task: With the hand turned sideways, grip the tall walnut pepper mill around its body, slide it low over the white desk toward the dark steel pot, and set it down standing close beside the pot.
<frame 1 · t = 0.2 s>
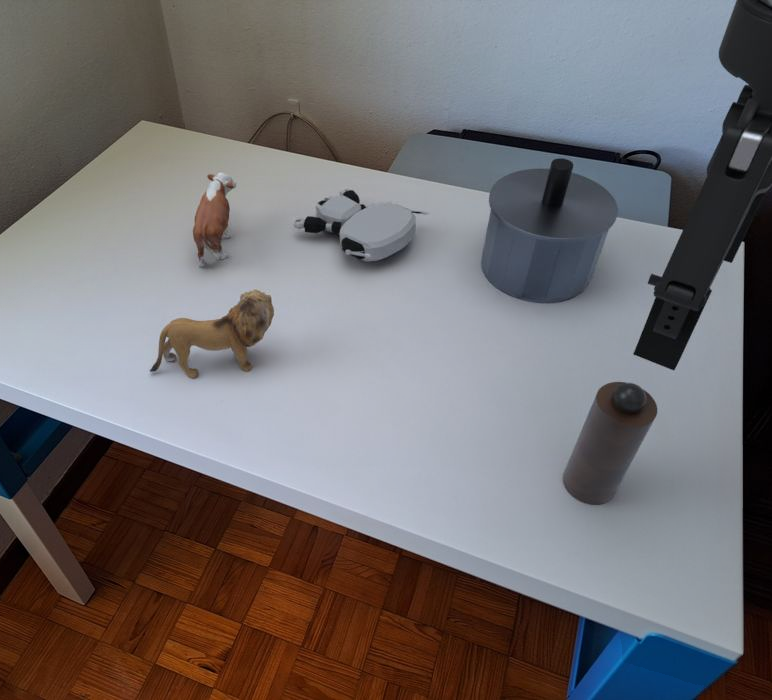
hand: (686, 303, 50), 22 cm above the table, tool pointing down, fingers open, 13 cm apart
pepper mill: (588, 483, 65), on the table
robot toy: (358, 239, 94), on the table
bull figurine: (218, 244, 94), on the table
pot: (535, 267, 88), on the table
pot lid: (551, 204, 81), point 9 cm above the table, touching pot
lion figurine: (219, 360, 79), on the table
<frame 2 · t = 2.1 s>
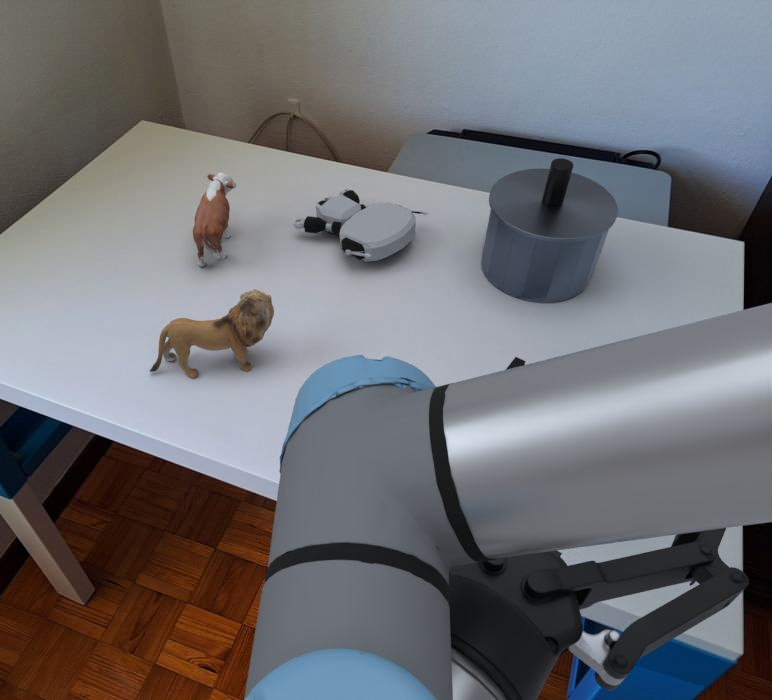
hand: (610, 415, 46), 20 cm above the table, tool horizontal, fingers open, 13 cm apart
nothing on the table moved.
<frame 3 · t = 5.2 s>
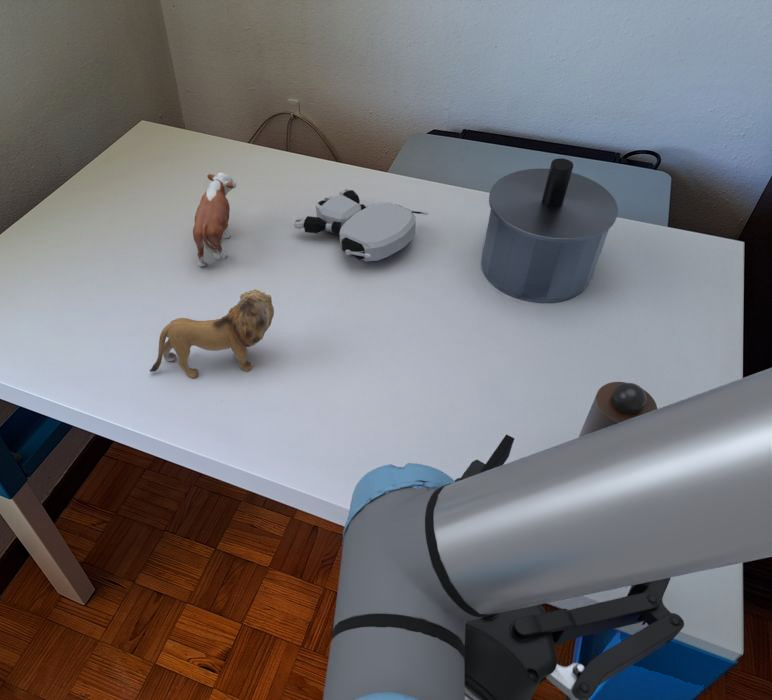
hand: (582, 484, 57), 7 cm above the table, tool horizontal, fingers open, 13 cm apart
nothing on the table moved.
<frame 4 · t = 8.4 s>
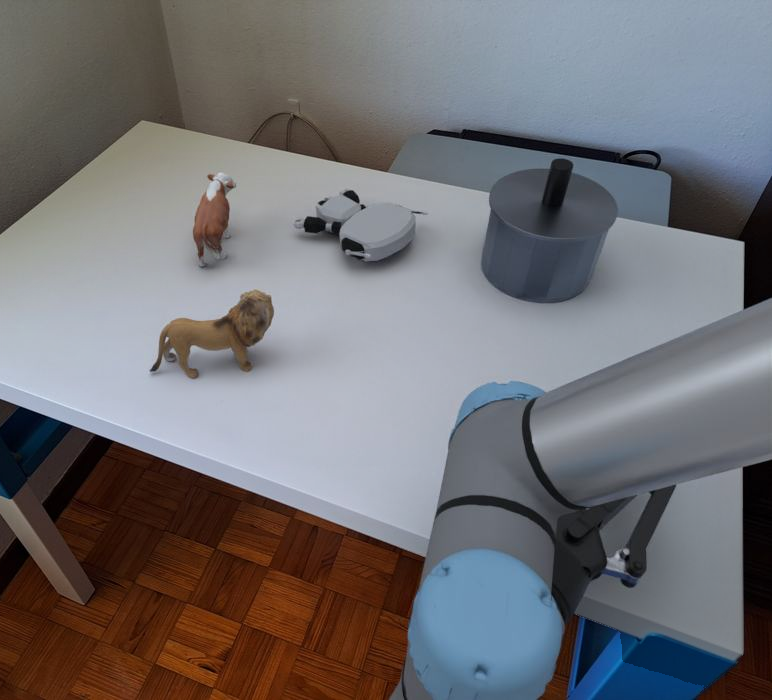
hand: (631, 402, 63), 7 cm above the table, tool horizontal, fingers closed on pepper mill, 5 cm apart
pepper mill: (588, 483, 65), on the table, touching gripper
everything else where it was.
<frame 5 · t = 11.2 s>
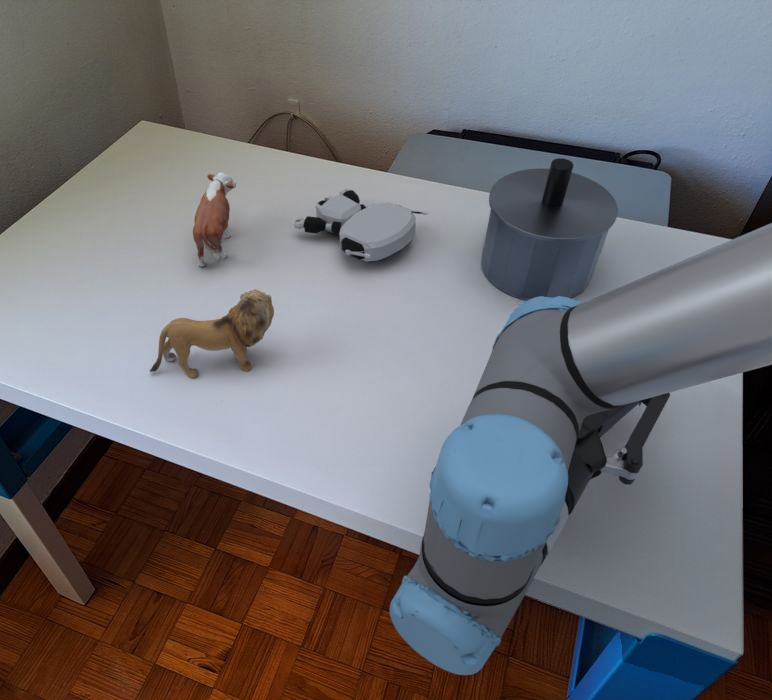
hand: (628, 328, 68), 8 cm above the table, tool horizontal, fingers closed on pepper mill, 5 cm apart
pepper mill: (588, 406, 70), point 1 cm above the table, touching gripper
everything else where it was.
when the fingers open (7 cm above the table, at t = 14.3 s): pepper mill stays where it is, on the table.
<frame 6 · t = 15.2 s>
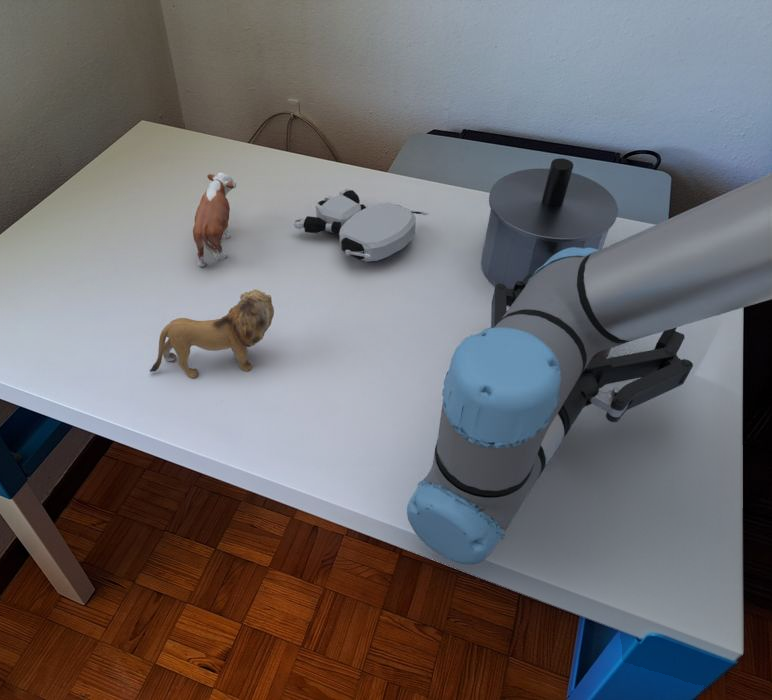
hand: (613, 290, 74), 7 cm above the table, tool horizontal, fingers open, 13 cm apart
pepper mill: (583, 353, 77), on the table
everything else where it was.
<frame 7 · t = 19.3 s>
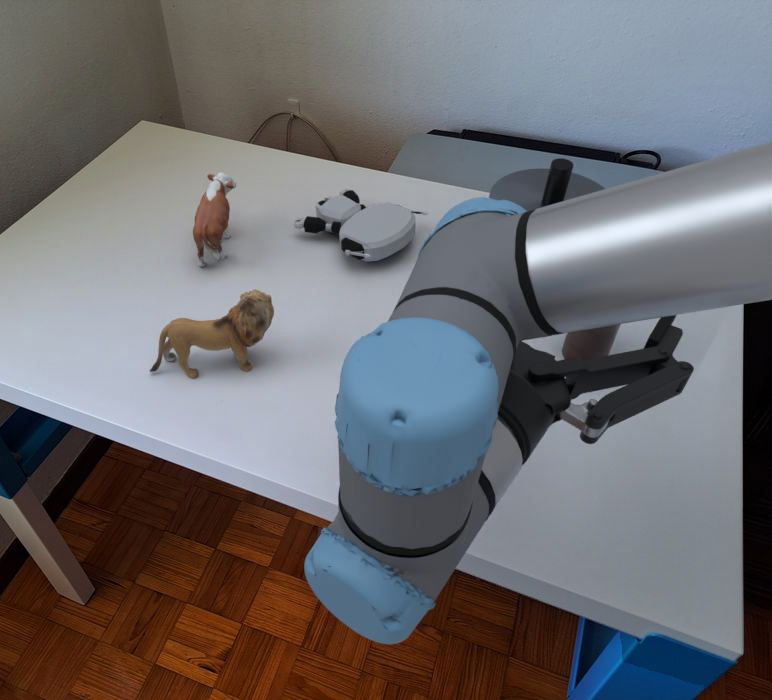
hand: (594, 274, 59), 18 cm above the table, tool horizontal, fingers open, 13 cm apart
nothing on the table moved.
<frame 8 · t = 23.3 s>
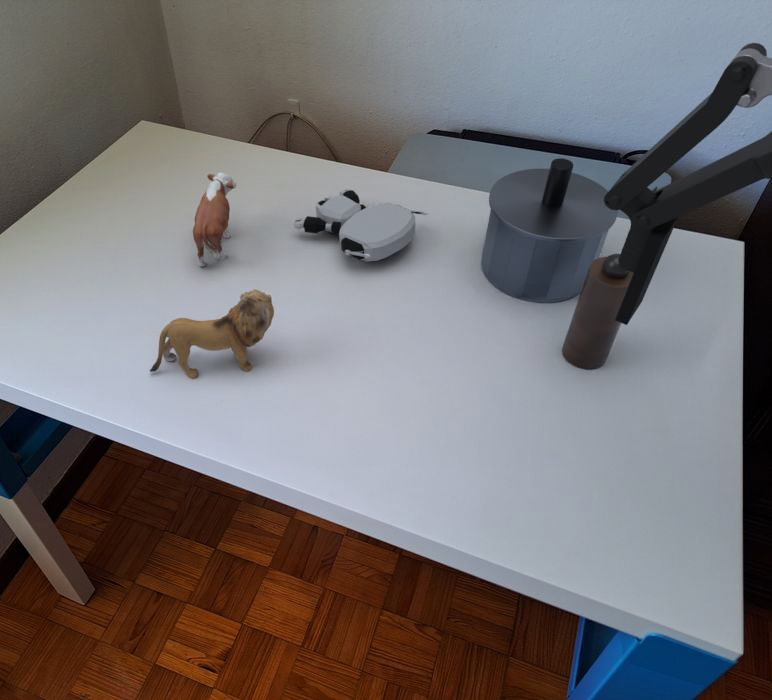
hand: (743, 357, 40), 27 cm above the table, tool pointing down, fingers open, 13 cm apart
nothing on the table moved.
at the end: pepper mill 15.5 cm from the pot (horizontally); pepper mill moved 17.5 cm from its start; pepper mill tilted 0° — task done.
